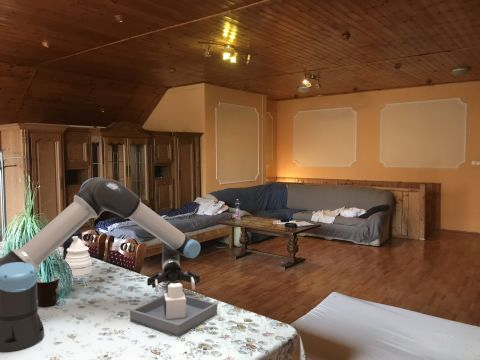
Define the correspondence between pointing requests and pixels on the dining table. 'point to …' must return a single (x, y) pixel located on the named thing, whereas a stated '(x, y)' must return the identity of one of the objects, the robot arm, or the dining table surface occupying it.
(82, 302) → the dining table surface
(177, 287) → the medicine bottle
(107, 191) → the robot arm
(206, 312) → the box
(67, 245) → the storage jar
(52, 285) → the brown plant pot
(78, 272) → the honey pot
